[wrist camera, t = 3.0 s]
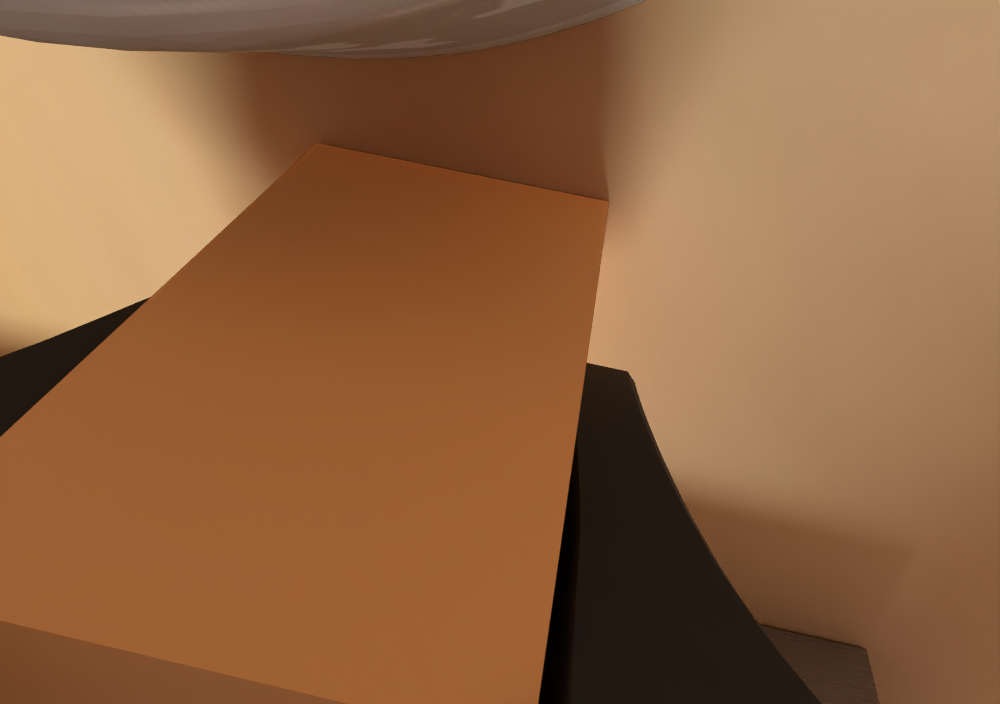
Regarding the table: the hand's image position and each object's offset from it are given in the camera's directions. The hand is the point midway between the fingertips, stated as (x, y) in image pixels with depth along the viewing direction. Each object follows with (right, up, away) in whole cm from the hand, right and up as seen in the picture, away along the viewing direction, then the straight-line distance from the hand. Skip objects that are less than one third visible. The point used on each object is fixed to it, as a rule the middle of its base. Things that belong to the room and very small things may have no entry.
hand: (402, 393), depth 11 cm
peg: (0, +1, +2) cm, 2 cm away
